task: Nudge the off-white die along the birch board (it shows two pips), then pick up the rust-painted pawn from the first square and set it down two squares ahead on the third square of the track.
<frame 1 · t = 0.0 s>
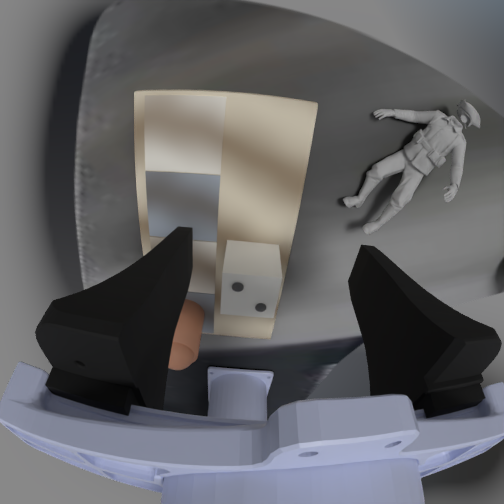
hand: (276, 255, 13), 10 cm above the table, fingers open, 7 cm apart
board: (215, 235, 24), on the table
soldier figure: (401, 153, 20), on the table
pawn: (185, 312, 28), point 1 cm above the table, touching board
die: (250, 262, 24), point 1 cm above the table, touching board
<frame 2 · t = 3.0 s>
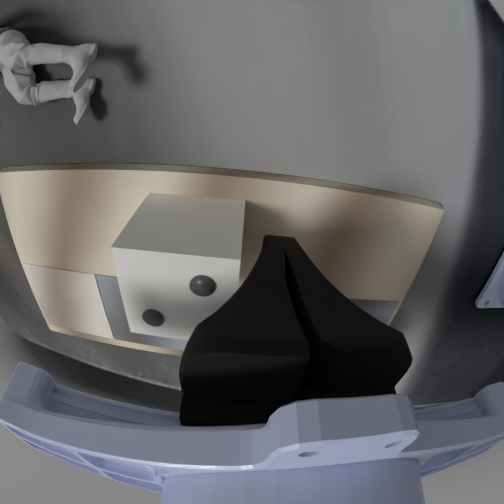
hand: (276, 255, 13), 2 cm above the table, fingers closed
board: (197, 278, 15), on the table
soldier figure: (19, 59, 9), on the table
die: (195, 237, 13), point 1 cm above the table, touching gripper
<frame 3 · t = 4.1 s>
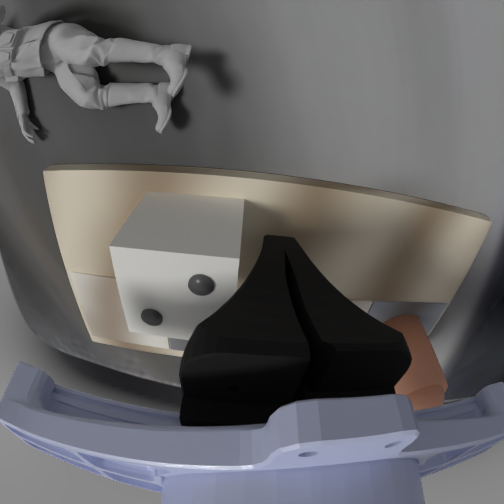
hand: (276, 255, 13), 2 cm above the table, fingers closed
board: (270, 286, 16), on the table
soldier figure: (70, 58, 9), on the table
pawn: (395, 334, 17), point 1 cm above the table, touching board
die: (194, 236, 13), point 1 cm above the table, touching board, gripper
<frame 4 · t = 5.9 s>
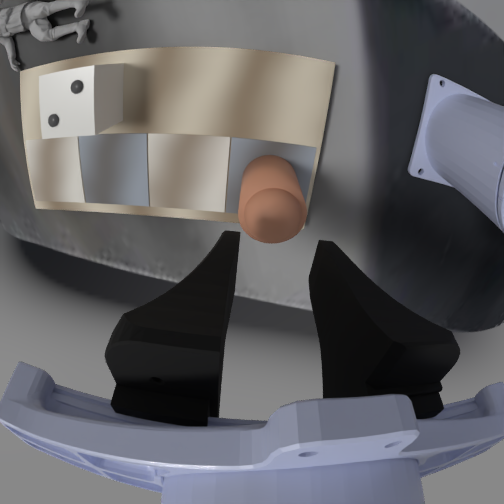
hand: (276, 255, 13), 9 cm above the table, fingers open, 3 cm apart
board: (151, 133, 18), on the table
soldier figure: (39, 22, 13), on the table
pawn: (269, 180, 20), point 1 cm above the table, touching board
die: (97, 94, 16), point 1 cm above the table, touching board
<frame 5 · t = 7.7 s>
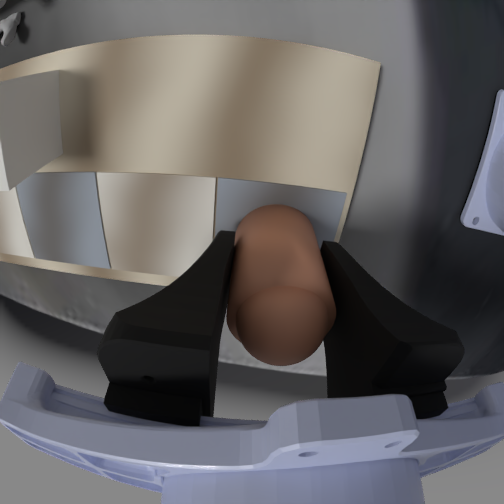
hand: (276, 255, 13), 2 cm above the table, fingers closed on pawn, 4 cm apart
board: (104, 169, 12), on the table
pawn: (275, 240, 14), point 1 cm above the table, touching board, gripper
die: (29, 116, 10), point 1 cm above the table, touching board
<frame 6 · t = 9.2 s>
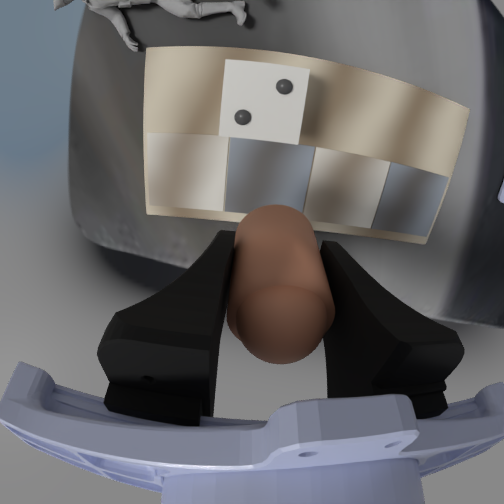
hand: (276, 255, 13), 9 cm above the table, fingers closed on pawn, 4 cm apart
board: (312, 146, 19), on the table
pawn: (274, 240, 14), point 8 cm above the table, touching gripper
die: (262, 94, 16), point 1 cm above the table, touching board
when the fingers open (3 cm above the table, at t = 10.7 s): pawn drops 1 cm, resting on board.
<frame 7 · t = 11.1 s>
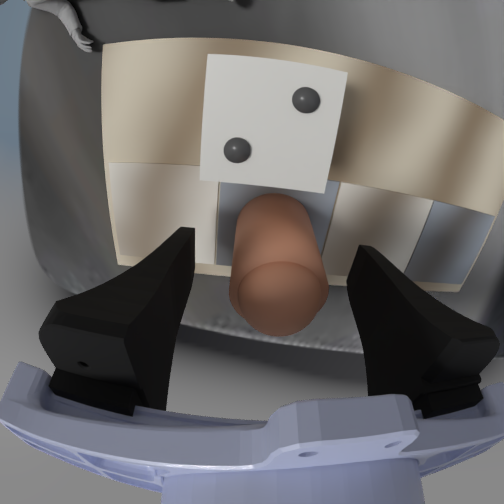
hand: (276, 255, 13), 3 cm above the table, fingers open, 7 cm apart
board: (335, 179, 14), on the table
pawn: (273, 226, 15), point 1 cm above the table, touching board
die: (266, 107, 11), point 1 cm above the table, touching board
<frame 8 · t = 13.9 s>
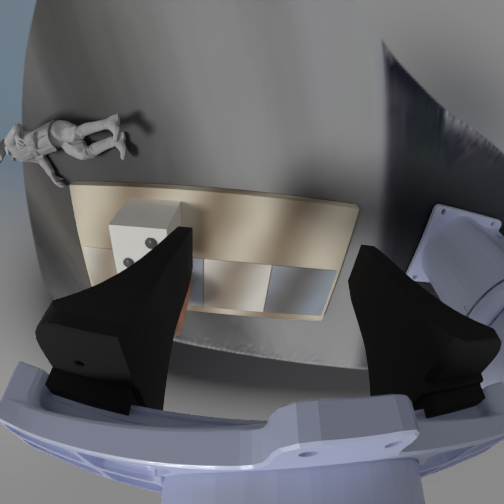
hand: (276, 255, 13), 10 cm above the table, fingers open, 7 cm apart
board: (205, 254, 25), on the table
soldier figure: (67, 135, 19), on the table, touching board
pawn: (172, 281, 25), point 1 cm above the table, touching board
die: (155, 222, 22), point 1 cm above the table, touching board
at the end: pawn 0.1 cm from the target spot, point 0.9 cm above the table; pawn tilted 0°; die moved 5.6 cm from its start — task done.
